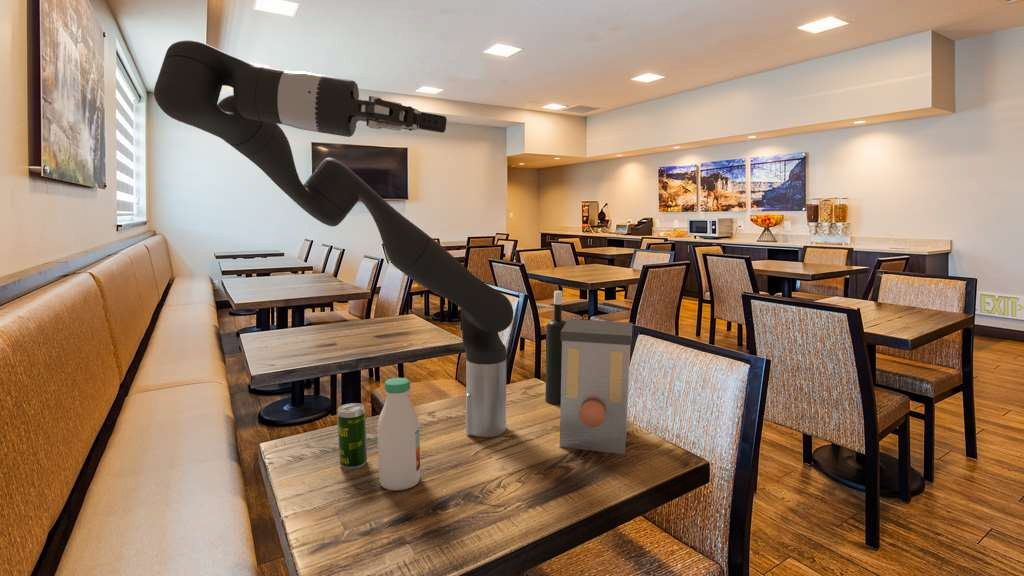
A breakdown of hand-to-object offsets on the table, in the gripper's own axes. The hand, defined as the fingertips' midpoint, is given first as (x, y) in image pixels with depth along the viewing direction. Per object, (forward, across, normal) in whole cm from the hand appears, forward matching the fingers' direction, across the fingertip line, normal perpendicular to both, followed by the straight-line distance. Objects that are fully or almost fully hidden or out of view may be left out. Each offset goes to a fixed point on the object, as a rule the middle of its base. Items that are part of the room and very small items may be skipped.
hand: (445, 125), depth 76 cm
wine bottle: (+38, +54, +62) cm, 90 cm away
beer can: (-10, +24, +67) cm, 72 cm away
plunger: (+40, +29, +54) cm, 73 cm away
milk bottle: (0, +16, +65) cm, 67 cm away
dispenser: (+41, +30, +60) cm, 78 cm away
